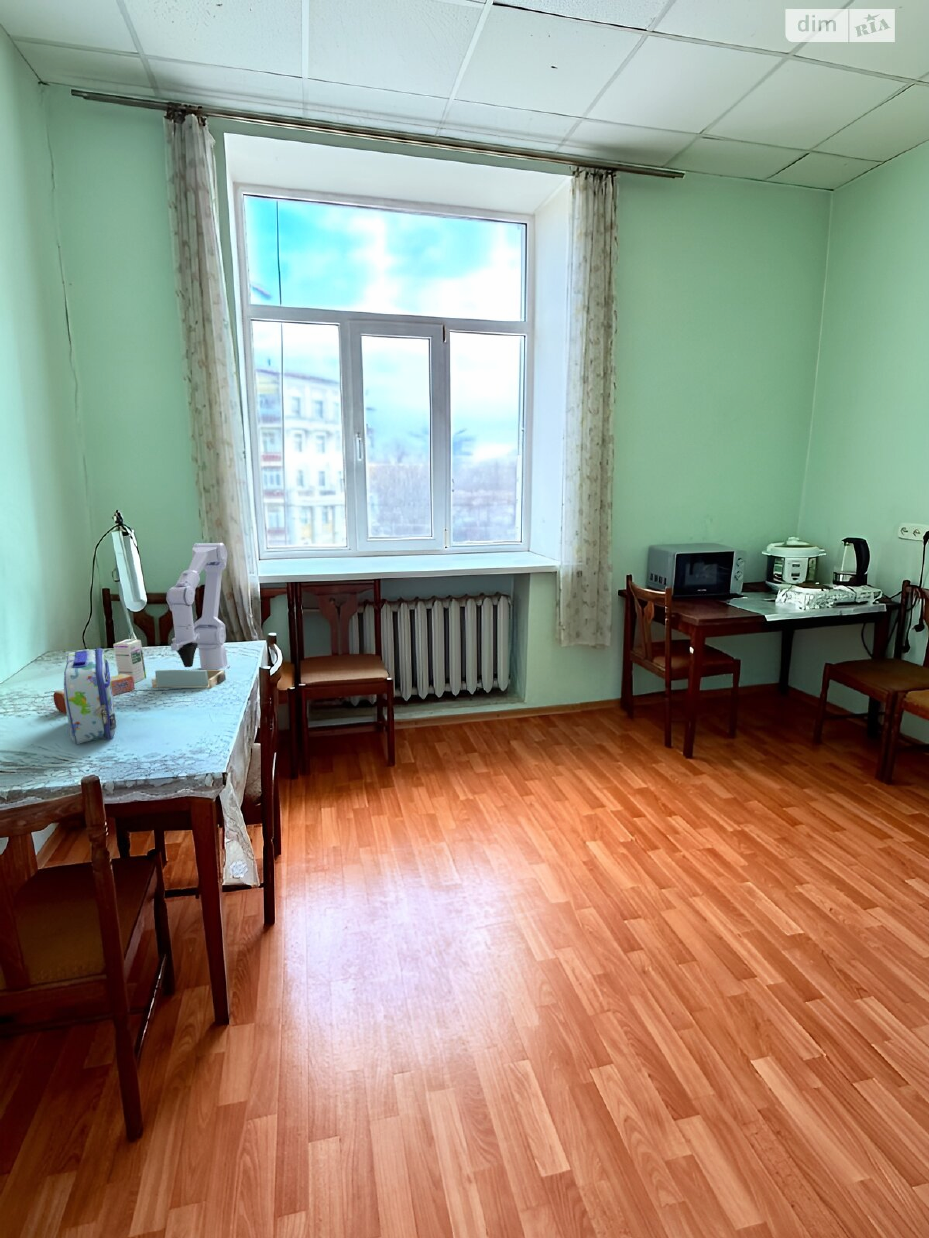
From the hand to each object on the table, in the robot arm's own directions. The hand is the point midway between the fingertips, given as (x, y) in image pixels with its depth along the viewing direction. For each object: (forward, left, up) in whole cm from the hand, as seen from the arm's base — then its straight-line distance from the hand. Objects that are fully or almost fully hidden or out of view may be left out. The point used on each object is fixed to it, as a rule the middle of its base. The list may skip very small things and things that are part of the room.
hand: (188, 666), depth 205 cm
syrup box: (-2, -20, -7) cm, 21 cm away
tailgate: (+5, 0, -5) cm, 7 cm away
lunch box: (+35, -9, -7) cm, 37 cm away
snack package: (+14, -22, -7) cm, 27 cm away
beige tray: (0, 0, -7) cm, 7 cm away
